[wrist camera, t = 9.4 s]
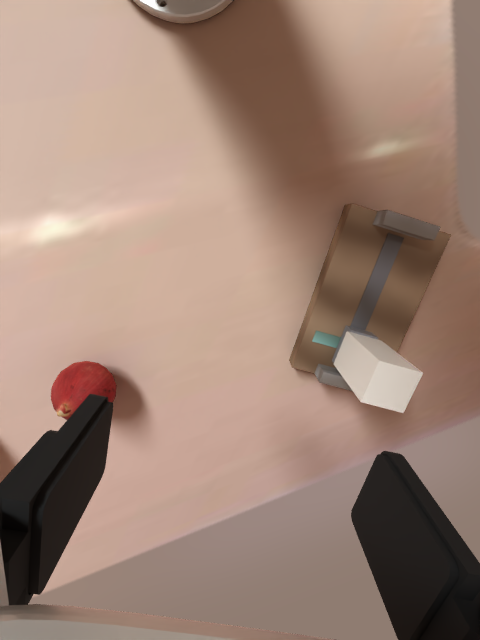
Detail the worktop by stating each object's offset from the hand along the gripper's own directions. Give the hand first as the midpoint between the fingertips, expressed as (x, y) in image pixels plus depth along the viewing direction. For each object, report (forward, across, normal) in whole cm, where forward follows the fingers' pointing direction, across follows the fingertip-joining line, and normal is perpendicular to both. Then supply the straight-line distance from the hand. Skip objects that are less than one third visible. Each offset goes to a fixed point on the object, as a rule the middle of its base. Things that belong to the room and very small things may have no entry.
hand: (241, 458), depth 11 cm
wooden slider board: (+23, -13, -3) cm, 26 cm away
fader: (+21, -12, +2) cm, 24 cm away
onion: (+23, +13, +12) cm, 29 cm away
